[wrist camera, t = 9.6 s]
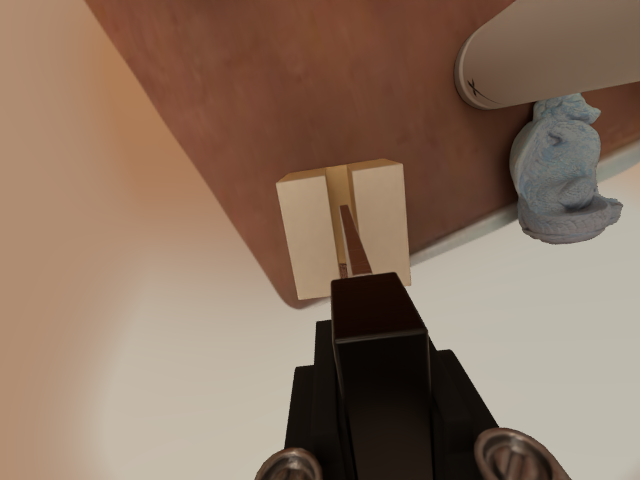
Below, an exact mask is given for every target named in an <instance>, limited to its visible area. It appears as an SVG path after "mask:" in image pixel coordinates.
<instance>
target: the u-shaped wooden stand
mask: <svg viewBox="0 0 640 480" xmlns="http://www.w3.org/2000/svg"><path fill="white" fill-rule="evenodd" d="M276 187H277V192H278V198H279V203H280V208H281V213H282V218H283V223H284V228H285V233H286V238H287V243H288V248H289V253H290V259H291V264H292V269H293V274H294V279H295V284H296V289H297V294H298V299H299V300H302V299H310V298H318V297H326V296H331V287H330V283H331V281H332V280H335V279H341V275H340V266H339V264H340V263H346V257H345V249H344V242H343V235H342V227H341V220H340V213H339V206H340V205H349V208H350V211H351V214H352V216H353V219H354V222H355V225H356V228H357V230H358V233H359V236H360V239H361V241H362V244H363V247H364V250H365V253H366V255H367V258H368V261H369V264H370V267H371V269H372V272H373V274H381V273H388V272H396V273H397V275H398V276H399V278H400V280H401V282H402V284H403V286H410V285H411V276H410V260H409V246H408V231H407V216H406V202H405V187H404V173H403V164H401V163H398V162H394V161H391V160H387V159H384V158H382V159H376V160H370V161H363V162H357V163H350V164H344V165H338V166H331V167H325V168H318V169H312V170H306V171H299V172H293V173H288V174H287V175H286V176H285V177H283V178H282V179H281V180H280V181H278V182H277V183H276Z"/></svg>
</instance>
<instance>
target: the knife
mask: <svg viewBox="0 0 640 480" xmlns="http://www.w3.org/2000/svg"><path fill="white" fill-rule="evenodd" d="M339 213H340V220H341V227H342V235H343V242H344V249H345V257H346V264H347V271H348V278H342V279H335V280H332V281H331V283H330V287H331V319H332V344H333V350H334V356H335V362H336V368H337V374H338V380H339V386H340V392H341V398H342V404H343V410H344V416H345V422H346V428H347V434H348V438H349V443H350V449H351V455H352V461H353V467H354V473H355V479H356V480H436V479H435V459H434V440H433V417H432V398H431V378H430V359H429V340H428V330H427V328H426V327H425V324H424V322H423V321H422V319H421V317H420V315H419V313H418V311H417V310H416V308H415V306H414V304H413V302H412V300H411V298H410V297H409V295H408V293H407V291H406V289H405V288H404V286H403V284H402V282H401V280H400V278H399V276H398V275H397V273H396V272H388V273H381V274H373V272H372V269H371V267H370V264H369V261H368V258H367V255H366V253H365V250H364V247H363V244H362V241H361V239H360V236H359V233H358V230H357V228H356V225H355V222H354V219H353V216H352V214H351V211H350V208H349V205H340V206H339Z"/></svg>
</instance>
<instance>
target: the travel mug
mask: <svg viewBox="0 0 640 480" xmlns="http://www.w3.org/2000/svg"><path fill="white" fill-rule="evenodd" d="M454 80H455V85H456V88H457V90H458V93H459V94H460V96H461V97H462V99H463V100H464V101H465V102H466V103H468V104H469V105H471V106H472V107H474V108H477V109H481V110H492V109H498V108H503V107H509V106H514V105H519V104H524V103H529V102H534V101H540V100H545V99H550V98H555V97H560V96H565V95H571V94H576V93H581V92H586V91H591V90H596V89H602V88H607V87H612V86H617V85H622V84H627V83H633V82H638V81H640V0H516V1H515V2H514V3H512V4H511V5H510V6H508V7H507V8H506V9H504V10H503V11H502V12H500V13H499V14H498V15H496V16H495V17H494V18H492V19H491V20H489V21H488V22H487V23H486V24H484V25H483V26H481V27H480V28H479V29H477V30H476V31H475V32H474V33H473V34H472V35H470V36H469V37H468V39H467V40H466V41H465V42H464V44H463V45H462V47H461V49H460V51H459V53H458V56H457V58H456V61H455V67H454Z"/></svg>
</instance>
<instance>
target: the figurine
mask: <svg viewBox="0 0 640 480" xmlns="http://www.w3.org/2000/svg"><path fill="white" fill-rule="evenodd" d="M533 112H534V113H533V121H531V122H529V123H527V124H526V125H525V126H524V127H523V128H522V130H521V131H520V132H519V133H518V135H517V136H516V138H515V139H514V142H513V144H512V147H511V152H510V160H509V164H510V165H509V166H510V167H509V168H510V173H511V177H512V180H513V183H514V186H515V188H516V191H517V193H518V196H519V199H518V203H517V209H518V219H519V223H520V225H521V227H522V230H523V232H524V233H525V234H527V235H529V236H530V237H532V238H533V239H540V240H541V241H542V242H546V243H549V244H570V243H576V242H581V241H586V240H590V239H592V238H594V237H596V236H598V235H599V234H600V233H602V232H603V231H604V230H605V228H606V227H607V226H609V225H612V224H613V223H616V222H617V221H618V219H619V218H620V214H621V210H622V207H623V204H621V203H620V202H618V201H617V199H612V198H610V199H608V198H605V197H603V196H601V195H600V194H598V189H597V187H598V186H597V182H596V170H595V168H596V166H597V164H598V162H599V156H600V151H601V147H600V146H601V143H600V137H599V135H598V133H597V131H596V130H594V129H593V128H592V127H591V126H590V124H592V123H594V122H595V121H596V118H598V117H599V115H600V114H601V111H600V110H599V109H598V108H593V107H591V106H590V105H588V104H587V103H585V99H584V98H583V97H582V96H581V93H576V94H571V95H565V96H560V97H555V98H550V99H545V100H540V101H537V102H536V103H535V105H534V106H533Z"/></svg>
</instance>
